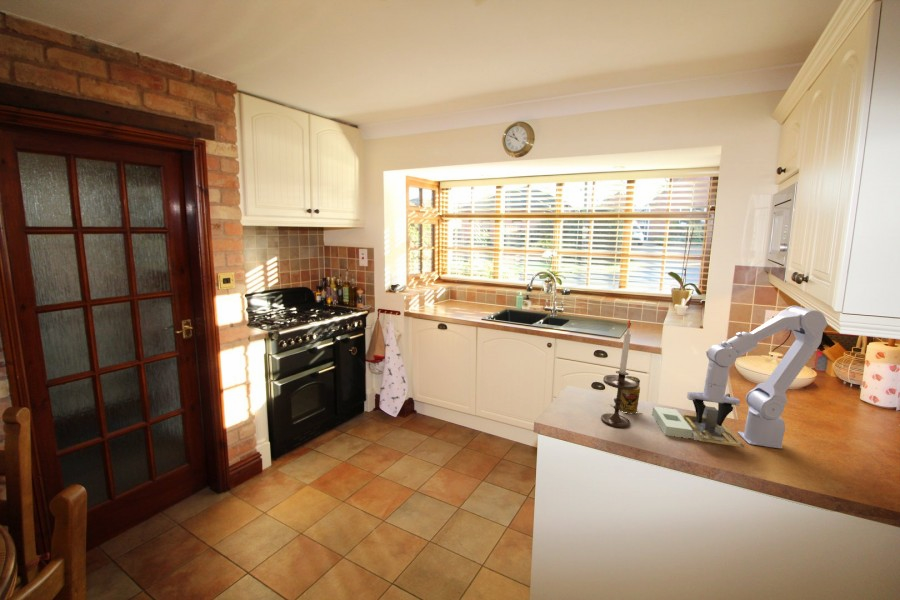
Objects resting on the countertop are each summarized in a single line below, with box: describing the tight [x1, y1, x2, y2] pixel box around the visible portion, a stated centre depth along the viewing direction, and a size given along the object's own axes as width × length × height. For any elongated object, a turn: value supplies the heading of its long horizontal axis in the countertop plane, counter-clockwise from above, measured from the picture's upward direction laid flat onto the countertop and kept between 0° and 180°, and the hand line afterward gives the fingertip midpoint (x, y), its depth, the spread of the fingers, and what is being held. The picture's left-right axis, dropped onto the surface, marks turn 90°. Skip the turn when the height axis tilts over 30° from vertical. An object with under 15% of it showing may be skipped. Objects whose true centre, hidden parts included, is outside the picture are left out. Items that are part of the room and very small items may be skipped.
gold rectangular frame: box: [682, 413, 745, 448], centre depth 135 cm, size 11×18×2 cm, turn 169°
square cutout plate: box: [651, 406, 693, 439], centre depth 142 cm, size 8×16×3 cm, turn 169°
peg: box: [692, 405, 724, 437], centre depth 137 cm, size 8×8×9 cm
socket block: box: [686, 421, 735, 443], centre depth 138 cm, size 11×11×2 cm
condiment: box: [610, 375, 643, 415], centre depth 154 cm, size 7×8×12 cm
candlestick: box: [600, 319, 640, 429], centre depth 140 cm, size 11×11×35 cm
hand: (708, 423), depth 137 cm, fingers open, 5 cm apart
